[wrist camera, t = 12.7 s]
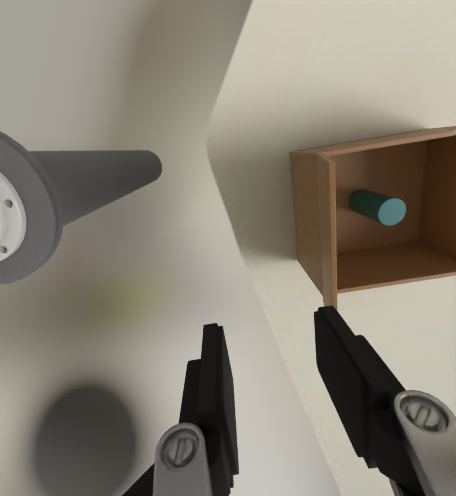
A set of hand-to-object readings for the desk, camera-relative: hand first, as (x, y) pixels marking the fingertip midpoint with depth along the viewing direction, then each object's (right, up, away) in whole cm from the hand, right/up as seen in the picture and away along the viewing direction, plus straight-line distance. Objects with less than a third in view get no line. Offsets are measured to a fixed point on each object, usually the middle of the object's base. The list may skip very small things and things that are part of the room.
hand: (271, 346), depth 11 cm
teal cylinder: (+13, +9, +19) cm, 25 cm away
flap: (+5, +4, +8) cm, 10 cm away
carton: (+13, +10, +20) cm, 25 cm away
